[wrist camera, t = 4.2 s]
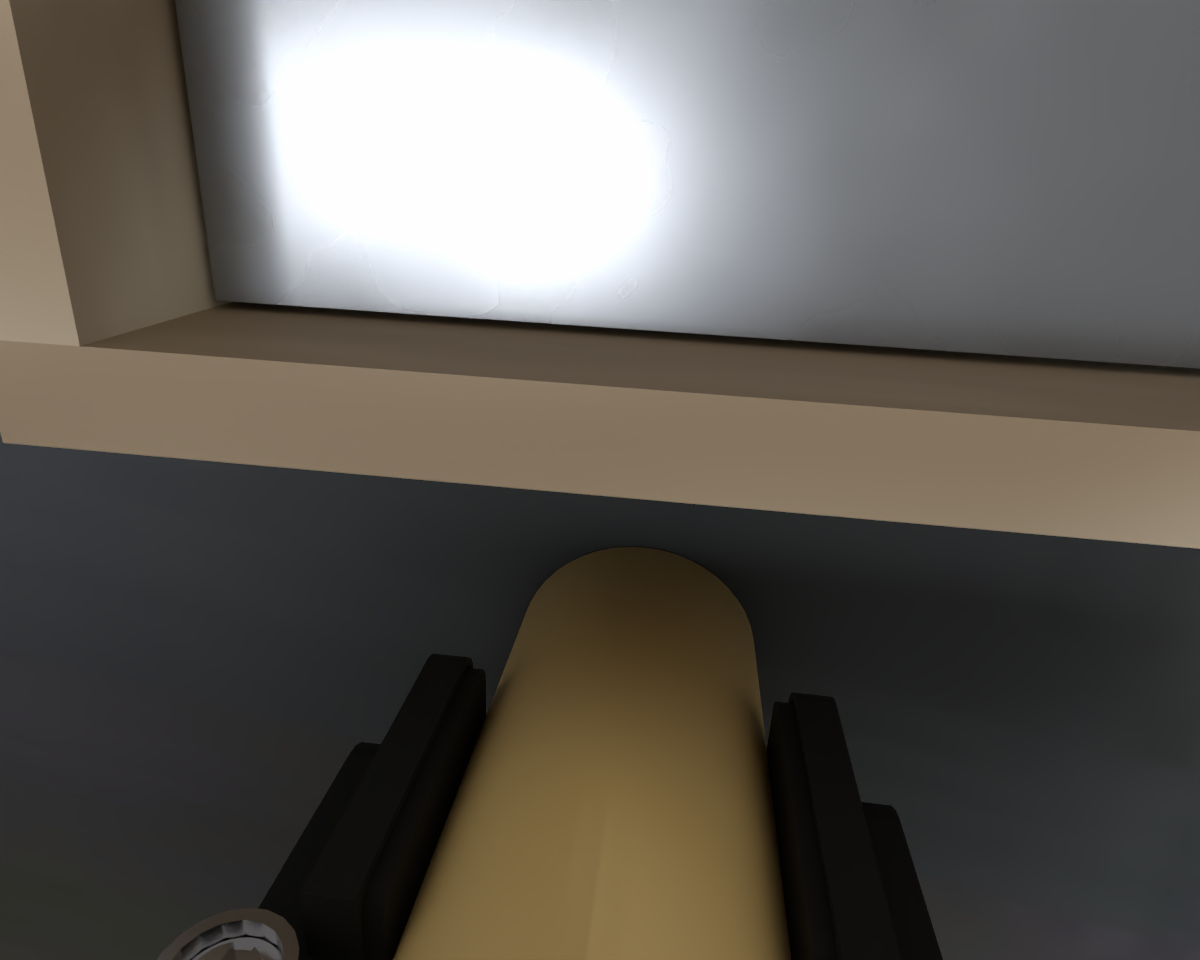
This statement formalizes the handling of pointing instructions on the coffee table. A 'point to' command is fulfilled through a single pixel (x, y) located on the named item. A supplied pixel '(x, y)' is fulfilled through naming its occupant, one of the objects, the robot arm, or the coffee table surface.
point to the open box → (500, 354)
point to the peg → (614, 783)
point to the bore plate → (715, 166)
